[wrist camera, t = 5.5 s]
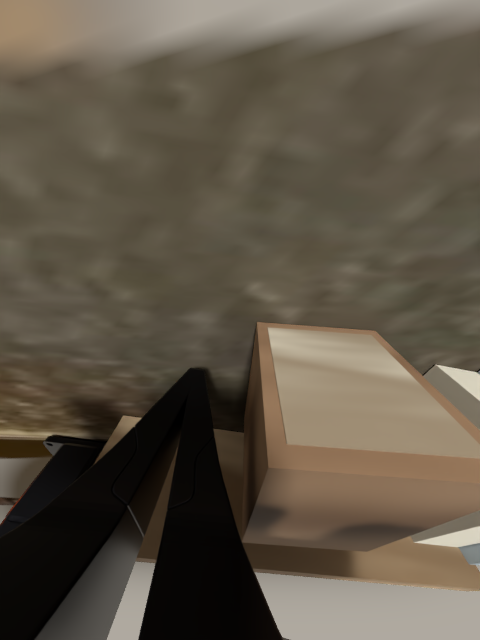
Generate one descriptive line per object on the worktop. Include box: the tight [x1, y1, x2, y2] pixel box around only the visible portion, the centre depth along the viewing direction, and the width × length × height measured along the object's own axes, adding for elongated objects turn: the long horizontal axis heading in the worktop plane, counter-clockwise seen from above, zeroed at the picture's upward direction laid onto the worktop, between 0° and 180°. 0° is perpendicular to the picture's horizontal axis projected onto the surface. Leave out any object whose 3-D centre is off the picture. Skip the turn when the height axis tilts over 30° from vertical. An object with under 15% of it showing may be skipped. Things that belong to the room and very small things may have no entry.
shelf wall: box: [93, 415, 480, 591], centre depth 12 cm, size 2×22×6 cm, turn 78°
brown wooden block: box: [242, 322, 480, 552], centre depth 8 cm, size 8×6×6 cm
